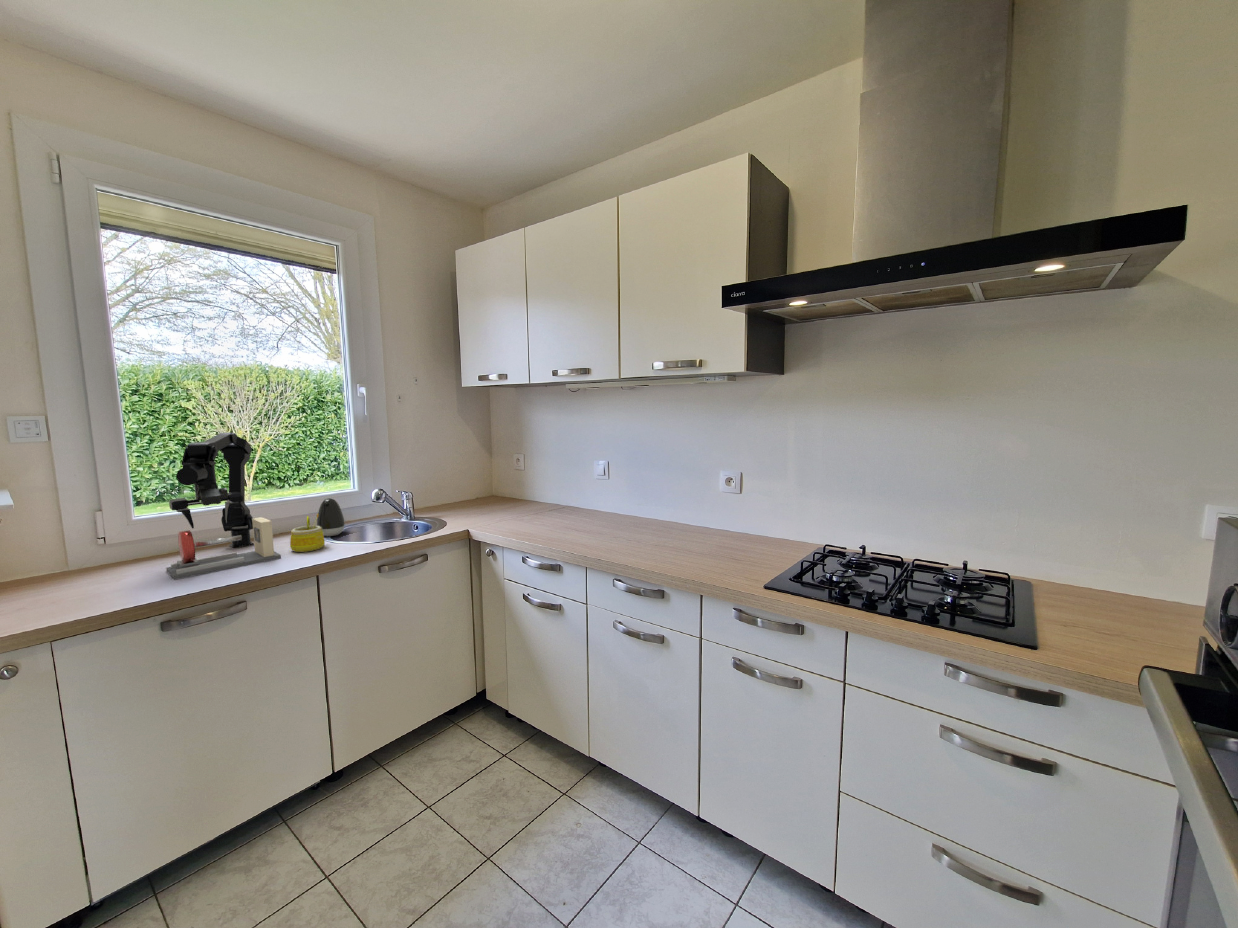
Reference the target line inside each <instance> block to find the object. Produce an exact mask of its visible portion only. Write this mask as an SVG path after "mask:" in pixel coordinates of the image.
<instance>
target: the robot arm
mask: <svg viewBox="0 0 1238 928" xmlns="http://www.w3.org/2000/svg"><path fill="white" fill-rule="evenodd" d="M219 451H220V452H221V453H222V454H223V455H222V456H223V459H224V461H225V462H226V463H227V464H228V489H227V487H222V488H218V485H217V476H216V468H215V465H217V462H216V458H217V457H218V455H219ZM252 451H253V450H252V445H251V444H250V443H249V442H248V441H247V440H246V439H245V438H242V437H239V436H238V435H237V434H236V433H235V432H234V433H233V432H219V433H217V434H216V435H215V436H212V437H211V438H208V439H206V440H204V441H198V442H197V441H195V442H189V443H188V444H186V447H185V449H184V452H183V455H182V459H181V466H182V468H180V469H179V470H178V471H177V472H176V474H175V475H176V480H177V482H179V483H180V484H181V485H184V486H192V485H194V492H195V493H194V494H195V498H194V499H188V498H187V499H186V497H185V498H184V497H183V498H174V499H170V500H169V501H168V504H169V509H170V510H172V511H176V512H178V513H182V515H183V516H184V517H185V519H186V521H187V522H188V524H189V526H190V527H191V529H195V526H194V525H195V524H194V521H193V517H192V514H191V509H190V508H189V506H196V505H203V506H205V507H206V506H209V505H220V504H221V503H222V502H224V507H223V509H222V511H221V512H222V513H221V514H222V516H221V518H220V519H221V525H222V527H223V531H224V532H230V537H233V536H239V535H241V536H242V540H238V541H232V542H231V543H228V545H229V547H231V548H232V549H235V548H236V549H237V548H243V547H248V546H253V545H254V546H255V544H254V542H253V541H252V540H251V538H252V537H251V530H253V523H252V519H253V516H252V514H251V510H250V508H249V507H248V506H247V504H246V503H245V501H246V498H245V492H246V490H245V489H246V488H245V486H246V485H245V483H246V482H245V481H246V480H245V479H246V478H245V477H246V474H245V473H246V471H245V469H246V467H245V466H246V465H247V463H248V462H249V461H250V459H251V453H252Z"/></svg>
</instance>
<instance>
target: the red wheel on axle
mask: <svg viewBox="0 0 1238 928" xmlns="http://www.w3.org/2000/svg"><path fill="white" fill-rule="evenodd" d="M238 540H242V536H241V535H239V536H233V537H231V536H228V537H221V538H215V539H208V540H203V541H198V542H195V541H194V537H193V534H192V531H191V530H183V531H182V530H181V531H178V535H177V541H178V551H179V555H180V558H181V560H177V561H176V563H177V567H178V568H179V569H182V568H187V567H192V566H198V565H199V561H198V560H197V559H198V558H196V548H201V547H202V548H203V547H206V546H212V545H219V544H224V543H225V544H227V543H230V542H231V543H232V541H238Z"/></svg>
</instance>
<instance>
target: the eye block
mask: <svg viewBox="0 0 1238 928" xmlns="http://www.w3.org/2000/svg"><path fill="white" fill-rule="evenodd" d="M252 523H253V529H252V532H253V541H254V542H253V543H254V550H253V551H248V552H242V553H238V552H237V551H235V552H229V553H223V554H218V555H214V556H213V555H212V556H207V557H201V558H196V559H197V560H198V561H199V565H198V566H192V567H187V568H182V569H179V568H178V567H177V562H173V563H171V564H170V566H166V568H165V569H166V572H167V573H168V575H169V576H170V577H171V578H172V579H173V580H174V581H176V580H181V579H185V578H190V577H194V576H199V575H205V574H209V573H214V572H219V571H225V570H229V569H234V568H239V567H243V566H249V565H252V564H258V563H265V562H270V561H275V560H279V559H282V557H281V554H280V553H278V552H277V551H275V548H274V547H275V546H274V535H273V525H272V520H270V519H268V518H265V517H263V516H262V517H260V516H259V517H254V518H253V519H252Z"/></svg>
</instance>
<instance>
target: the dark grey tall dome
mask: <svg viewBox="0 0 1238 928" xmlns="http://www.w3.org/2000/svg"><path fill="white" fill-rule="evenodd" d="M317 514H318V515H319V516H318V518H317V521H316V524H315V526H320V527H322V531H323V536H324V537H334V536H338V535H340V534H341V533H342V532H343V531H344V529H345V526H346V521H345V516H344V513H343V511H342V509H341V506H340V505H339V503H338V502H337V500H336V499H334V498H331V497H329V498H325V499H323V500H322V502H321V503H320V506H319V508H318V511H317Z"/></svg>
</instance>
